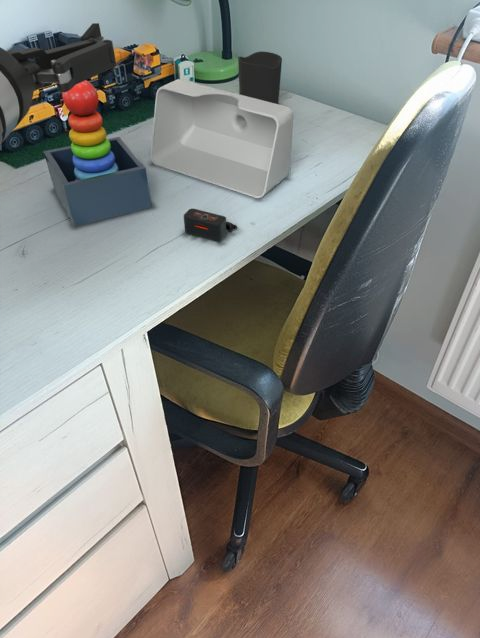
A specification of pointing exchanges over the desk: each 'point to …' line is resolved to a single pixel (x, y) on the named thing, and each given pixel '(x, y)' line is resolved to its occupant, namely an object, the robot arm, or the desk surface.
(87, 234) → the desk surface
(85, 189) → the square holder
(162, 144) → the light grey open box
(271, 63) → the pen holder
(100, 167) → the stacking toy
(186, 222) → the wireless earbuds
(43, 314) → the desk surface
